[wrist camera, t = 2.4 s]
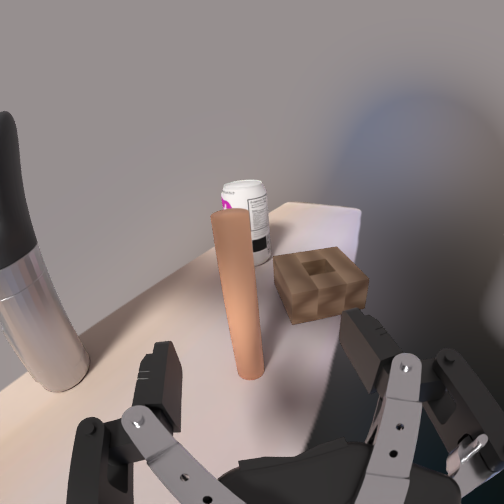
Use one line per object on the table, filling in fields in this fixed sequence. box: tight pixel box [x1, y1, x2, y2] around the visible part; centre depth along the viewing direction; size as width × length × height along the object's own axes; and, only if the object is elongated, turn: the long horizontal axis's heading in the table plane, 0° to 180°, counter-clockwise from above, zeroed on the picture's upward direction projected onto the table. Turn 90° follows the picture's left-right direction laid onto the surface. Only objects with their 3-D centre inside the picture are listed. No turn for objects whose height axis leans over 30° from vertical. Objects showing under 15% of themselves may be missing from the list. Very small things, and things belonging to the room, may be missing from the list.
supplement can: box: [221, 180, 271, 266], centre depth 51 cm, size 8×8×15 cm
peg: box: [211, 208, 264, 380], centre depth 25 cm, size 3×3×18 cm
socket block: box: [273, 247, 369, 325], centre depth 40 cm, size 11×11×5 cm
